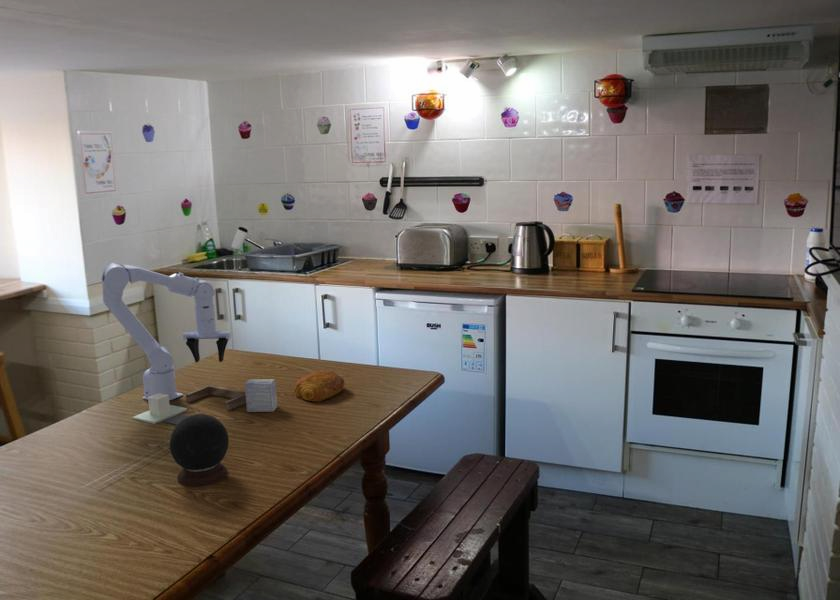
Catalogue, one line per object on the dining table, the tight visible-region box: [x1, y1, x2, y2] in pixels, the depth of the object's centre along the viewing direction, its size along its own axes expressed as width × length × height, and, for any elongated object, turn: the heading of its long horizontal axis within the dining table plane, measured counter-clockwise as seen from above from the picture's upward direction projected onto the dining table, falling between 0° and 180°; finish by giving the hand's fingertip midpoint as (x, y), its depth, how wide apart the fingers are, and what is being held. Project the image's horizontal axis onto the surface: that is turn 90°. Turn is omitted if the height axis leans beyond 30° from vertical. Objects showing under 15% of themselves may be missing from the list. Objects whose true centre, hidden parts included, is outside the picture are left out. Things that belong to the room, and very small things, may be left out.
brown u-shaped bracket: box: [185, 384, 246, 412], centre depth 227 cm, size 17×10×2 cm, turn 60°
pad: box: [131, 404, 188, 425], centre depth 217 cm, size 9×12×1 cm
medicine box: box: [244, 378, 278, 413], centre depth 218 cm, size 8×4×9 cm, turn 84°
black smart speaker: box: [169, 413, 230, 488], centre depth 174 cm, size 13×13×15 cm
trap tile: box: [163, 413, 189, 426], centre depth 212 cm, size 6×6×1 cm
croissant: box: [294, 370, 345, 402], centre depth 231 cm, size 14×16×8 cm
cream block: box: [147, 393, 171, 416], centre depth 217 cm, size 4×4×5 cm
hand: (209, 361), depth 236 cm, fingers open, 7 cm apart
